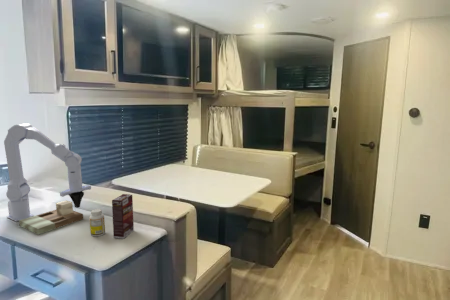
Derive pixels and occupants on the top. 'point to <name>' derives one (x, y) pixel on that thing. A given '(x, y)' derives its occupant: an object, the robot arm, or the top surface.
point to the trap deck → (49, 221)
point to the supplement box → (122, 216)
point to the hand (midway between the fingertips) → (77, 207)
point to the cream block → (64, 208)
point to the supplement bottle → (97, 222)
